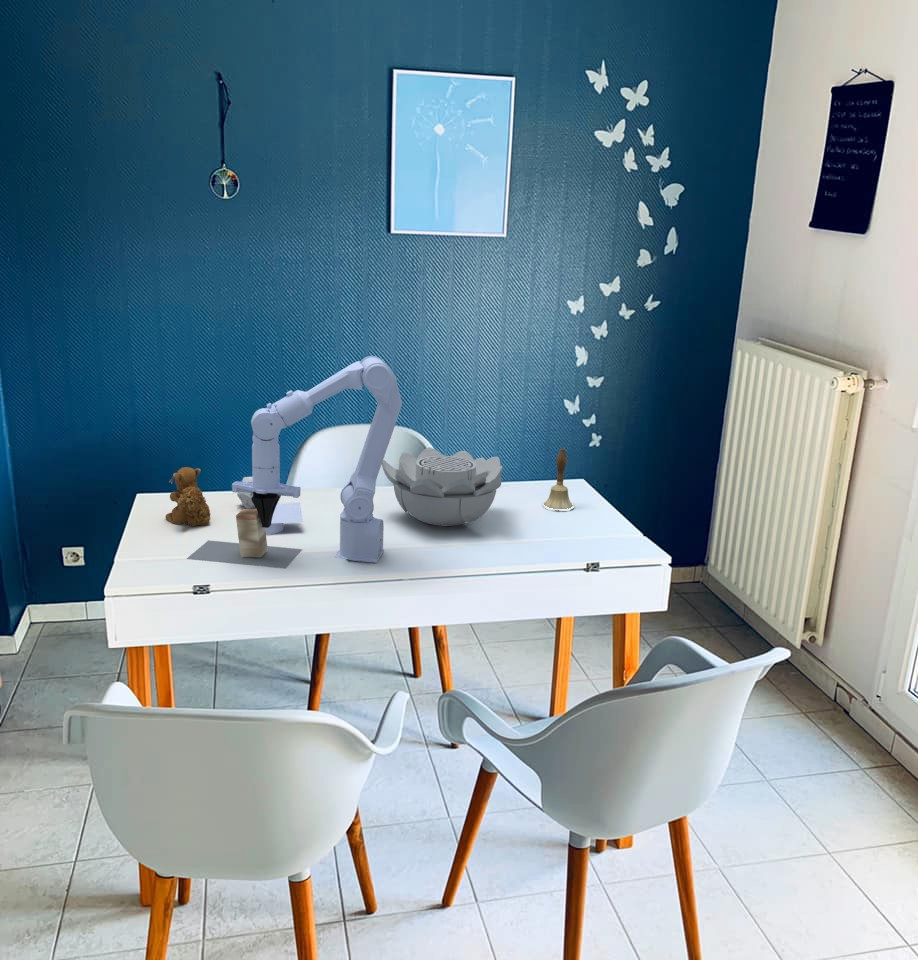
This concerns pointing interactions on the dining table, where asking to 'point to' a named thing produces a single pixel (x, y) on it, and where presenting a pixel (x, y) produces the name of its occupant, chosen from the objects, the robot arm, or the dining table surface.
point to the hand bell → (559, 486)
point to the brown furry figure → (188, 500)
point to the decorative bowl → (445, 486)
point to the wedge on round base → (284, 516)
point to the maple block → (251, 534)
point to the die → (246, 495)
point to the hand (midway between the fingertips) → (266, 526)
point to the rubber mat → (231, 554)
